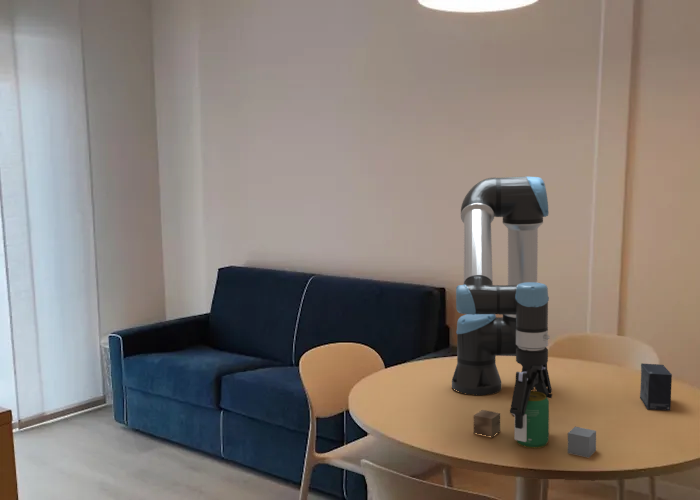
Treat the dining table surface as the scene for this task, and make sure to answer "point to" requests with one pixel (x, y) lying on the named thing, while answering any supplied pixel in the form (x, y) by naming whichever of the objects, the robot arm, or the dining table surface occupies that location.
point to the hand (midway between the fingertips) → (531, 431)
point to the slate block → (582, 442)
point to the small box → (655, 387)
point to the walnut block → (487, 423)
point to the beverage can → (537, 421)
